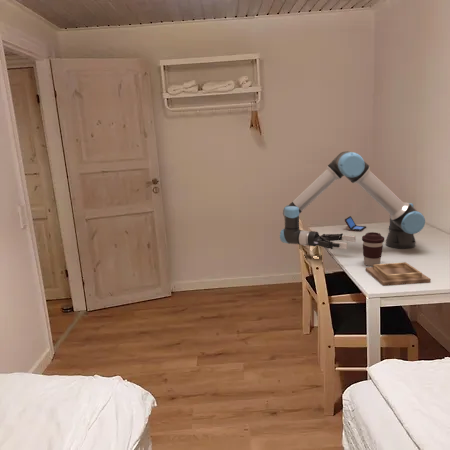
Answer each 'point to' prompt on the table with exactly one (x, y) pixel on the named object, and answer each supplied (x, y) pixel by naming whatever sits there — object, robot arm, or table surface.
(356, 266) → the table surface
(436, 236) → the table surface
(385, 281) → the cup rack
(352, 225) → the handheld game console
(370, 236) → the coffee cup
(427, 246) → the table surface
